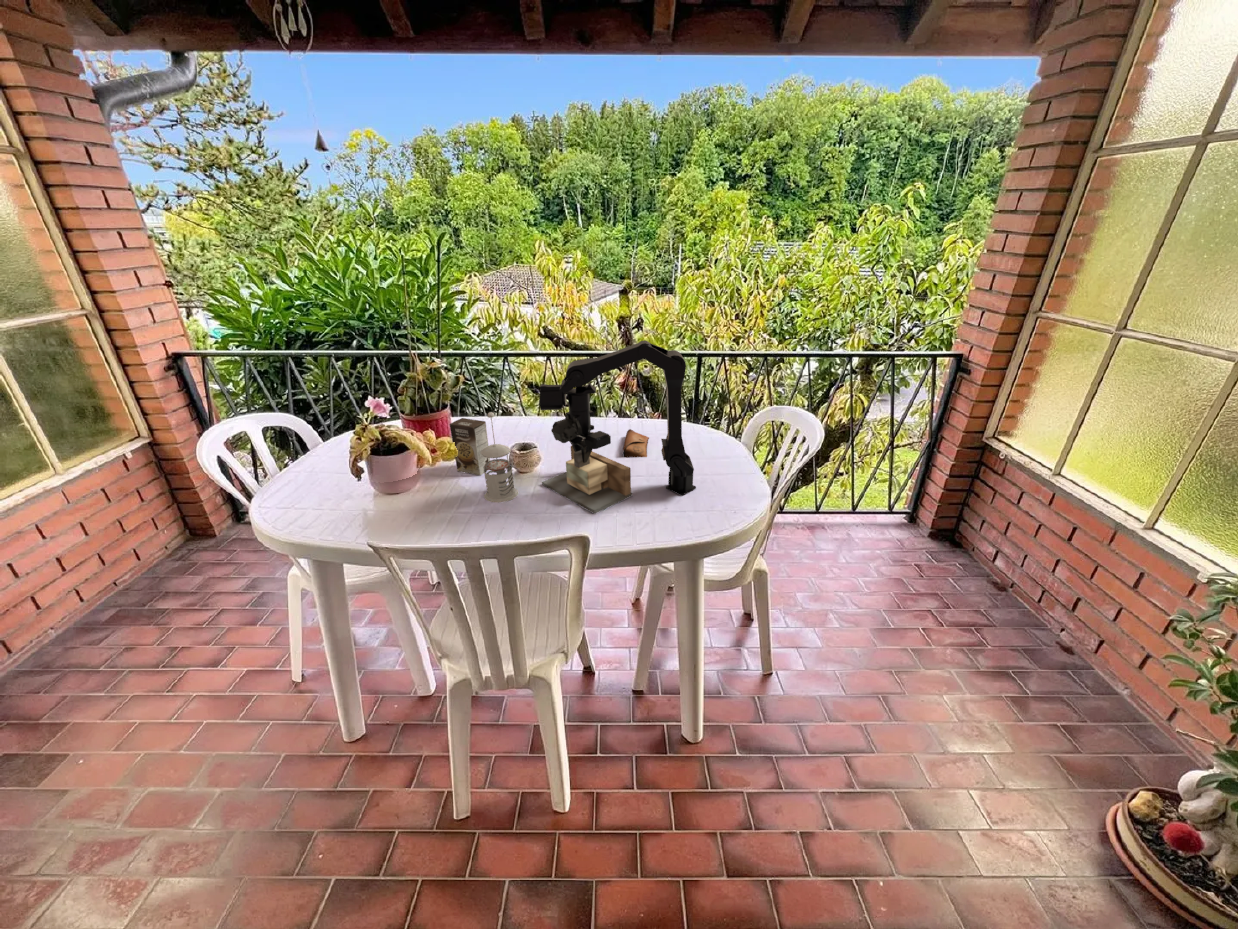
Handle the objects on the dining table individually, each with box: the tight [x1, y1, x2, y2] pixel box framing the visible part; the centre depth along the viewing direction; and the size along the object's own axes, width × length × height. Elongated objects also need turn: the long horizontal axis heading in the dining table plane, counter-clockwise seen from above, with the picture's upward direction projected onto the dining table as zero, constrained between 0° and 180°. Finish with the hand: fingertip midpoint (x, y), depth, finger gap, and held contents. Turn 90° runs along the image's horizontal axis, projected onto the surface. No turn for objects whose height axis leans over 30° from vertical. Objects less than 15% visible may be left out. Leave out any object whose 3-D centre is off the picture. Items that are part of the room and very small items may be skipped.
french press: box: [481, 411, 519, 504], centre depth 145 cm, size 10×12×25 cm
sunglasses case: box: [622, 428, 650, 458], centre depth 179 cm, size 18×7×7 cm
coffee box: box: [449, 417, 491, 476], centre depth 162 cm, size 9×6×16 cm
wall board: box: [541, 445, 633, 515], centre depth 149 cm, size 24×14×9 cm, turn 43°
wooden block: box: [565, 450, 608, 495], centre depth 148 cm, size 10×7×11 cm
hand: (582, 461), depth 147 cm, fingers closed on wooden block
